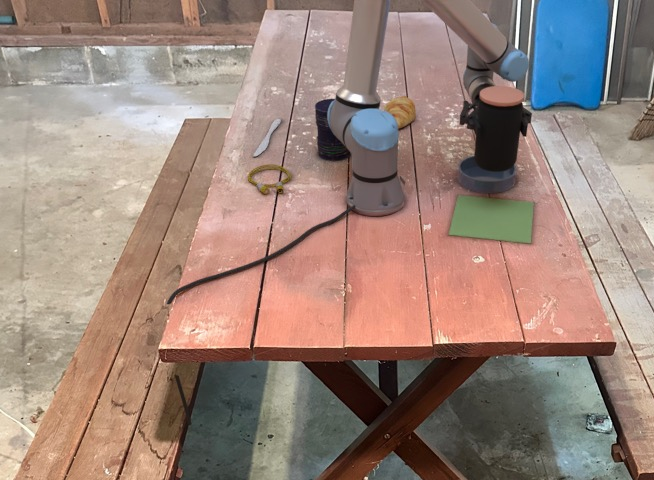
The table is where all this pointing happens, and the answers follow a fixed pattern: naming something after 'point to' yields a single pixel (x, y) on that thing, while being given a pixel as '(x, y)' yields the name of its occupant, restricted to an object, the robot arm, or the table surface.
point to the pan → (484, 177)
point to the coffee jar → (498, 128)
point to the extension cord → (264, 188)
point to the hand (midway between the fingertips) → (502, 132)
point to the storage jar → (328, 135)
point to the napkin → (492, 219)
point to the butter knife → (267, 138)
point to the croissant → (401, 110)
